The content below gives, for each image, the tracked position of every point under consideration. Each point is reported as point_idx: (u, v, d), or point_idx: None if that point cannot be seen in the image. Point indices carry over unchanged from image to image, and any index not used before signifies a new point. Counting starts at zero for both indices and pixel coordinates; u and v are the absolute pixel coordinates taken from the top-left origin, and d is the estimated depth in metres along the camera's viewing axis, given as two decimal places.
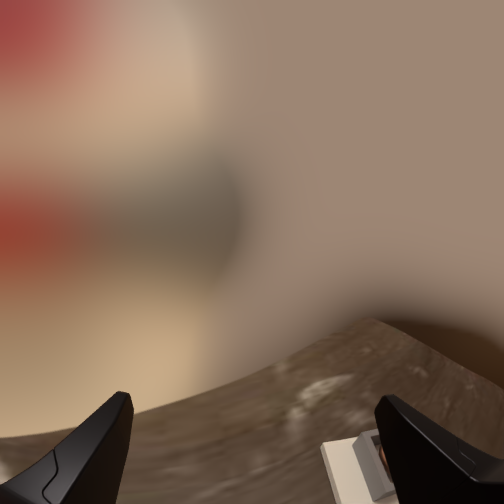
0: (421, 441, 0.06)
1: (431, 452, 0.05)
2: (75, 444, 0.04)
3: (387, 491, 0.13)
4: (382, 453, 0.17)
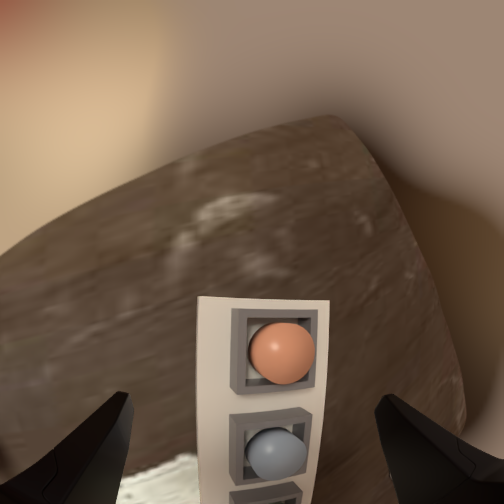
0: (421, 440, 0.06)
1: (431, 453, 0.05)
2: (75, 444, 0.04)
3: (238, 393, 0.20)
4: (252, 345, 0.21)
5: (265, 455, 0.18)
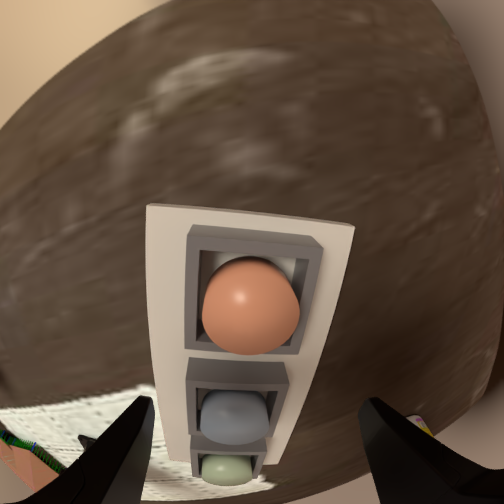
0: (403, 447, 0.06)
1: (414, 460, 0.05)
2: (101, 452, 0.04)
3: (187, 347, 0.16)
4: (206, 290, 0.15)
5: (215, 422, 0.17)
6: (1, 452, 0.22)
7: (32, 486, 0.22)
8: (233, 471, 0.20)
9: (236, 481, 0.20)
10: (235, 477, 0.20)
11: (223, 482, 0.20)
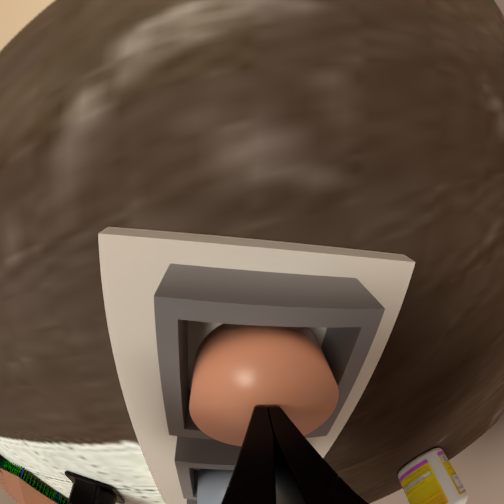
0: (291, 470, 0.05)
1: (299, 488, 0.05)
2: (251, 472, 0.05)
3: (173, 433, 0.10)
4: (194, 366, 0.09)
5: (215, 502, 0.10)
6: None
7: None
8: None
9: None
10: None
11: None
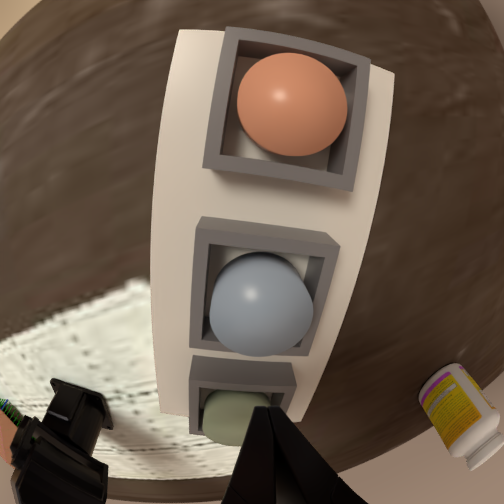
0: (291, 470, 0.05)
1: (299, 488, 0.05)
2: (251, 472, 0.05)
3: (206, 167, 0.12)
4: None
5: (233, 301, 0.13)
6: None
7: (3, 455, 0.20)
8: (248, 417, 0.16)
9: None
10: None
11: (232, 439, 0.17)
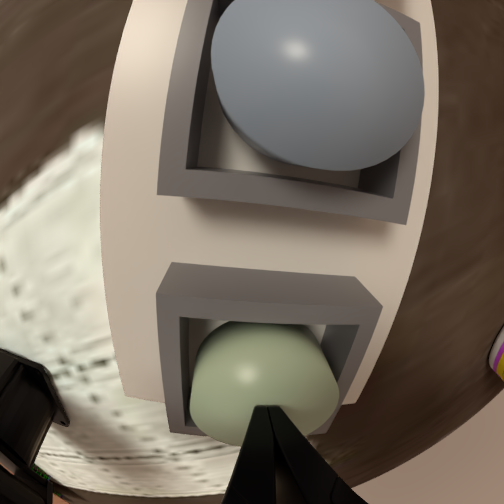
0: (291, 470, 0.05)
1: (299, 488, 0.05)
2: (251, 472, 0.05)
3: None
4: None
5: (267, 15, 0.04)
6: None
7: None
8: (292, 375, 0.07)
9: None
10: (290, 408, 0.08)
11: None
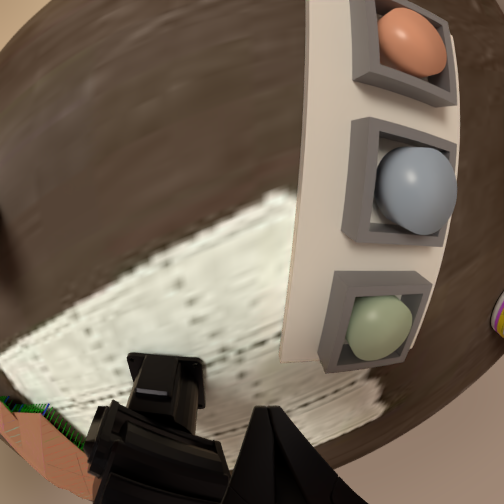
0: (291, 470, 0.05)
1: (299, 488, 0.05)
2: (251, 472, 0.05)
3: (371, 71, 0.12)
4: None
5: (411, 173, 0.12)
6: (3, 425, 0.20)
7: (43, 471, 0.20)
8: (396, 310, 0.17)
9: (390, 342, 0.18)
10: (393, 330, 0.17)
11: (374, 349, 0.18)
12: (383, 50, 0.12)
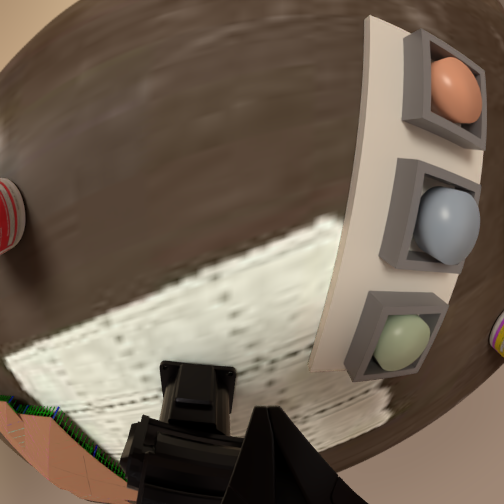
0: (291, 470, 0.05)
1: (299, 488, 0.05)
2: (251, 472, 0.05)
3: (423, 117, 0.13)
4: None
5: (448, 213, 0.14)
6: (6, 425, 0.19)
7: (46, 472, 0.20)
8: (418, 328, 0.18)
9: (410, 355, 0.19)
10: (413, 344, 0.18)
11: (396, 361, 0.19)
12: (431, 96, 0.13)
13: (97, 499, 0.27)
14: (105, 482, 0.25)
